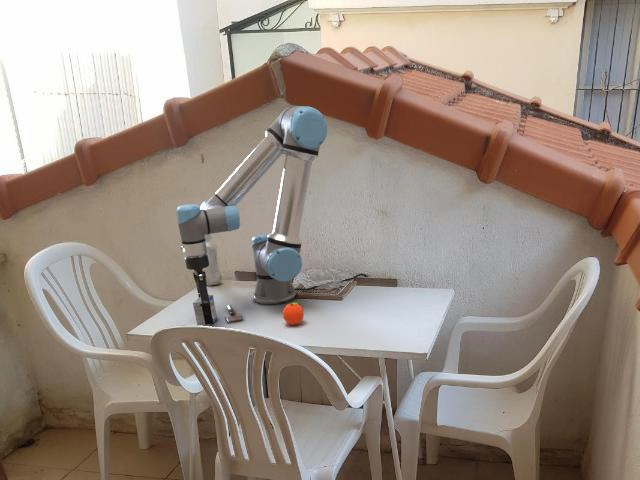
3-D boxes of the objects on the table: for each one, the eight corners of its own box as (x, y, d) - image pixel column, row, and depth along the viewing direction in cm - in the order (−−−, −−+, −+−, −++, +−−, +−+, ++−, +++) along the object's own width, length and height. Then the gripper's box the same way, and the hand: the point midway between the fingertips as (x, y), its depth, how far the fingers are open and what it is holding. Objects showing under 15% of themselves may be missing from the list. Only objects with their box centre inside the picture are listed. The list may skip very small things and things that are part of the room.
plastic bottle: (204, 287, 275) (195, 235, 265) (209, 282, 281) (201, 231, 271) (219, 286, 274) (211, 235, 264) (224, 281, 279) (216, 231, 270)
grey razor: (222, 309, 248) (222, 305, 247) (236, 307, 249) (235, 303, 248) (228, 323, 234) (227, 318, 233) (242, 320, 235) (241, 316, 234)
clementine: (293, 318, 233) (291, 298, 229) (310, 320, 230) (308, 299, 226) (279, 326, 227) (277, 305, 224) (297, 328, 224) (295, 307, 220)
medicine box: (209, 326, 232) (205, 301, 228) (197, 327, 233) (192, 302, 229) (217, 319, 239) (213, 294, 234) (205, 319, 240) (201, 294, 235)
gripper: (181, 248, 234) (193, 309, 245) (187, 265, 213) (199, 331, 224) (203, 245, 236) (214, 305, 246) (211, 262, 215) (222, 327, 225)
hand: (207, 318), depth 235 cm, fingers open, 13 cm apart
